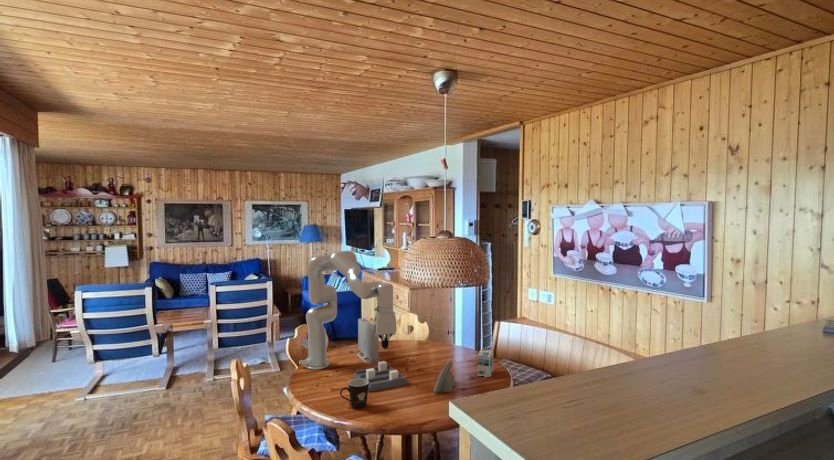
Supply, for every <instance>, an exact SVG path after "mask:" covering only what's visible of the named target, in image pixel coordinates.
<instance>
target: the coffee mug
mask: <svg viewBox="0 0 834 460" xmlns="http://www.w3.org/2000/svg"><path fill="white" fill-rule="evenodd" d="M368 386H369V381H368V380H366V379H355V378H354V379H351V380H349V381H348V387H344V388H341V389H340V391H339V396H340V397H341V398H343V399H344V400H346V401H349V402H350V407H351V408H352V409H353V410H362V409H365V408H366V407H367V403H368V394H369V392H368ZM344 390H347V391H348V392H349V398H347V397H344V395H343V394H342V392H343V391H344Z"/></svg>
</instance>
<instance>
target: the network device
mask: <svg viewBox="0 0 834 460" xmlns="http://www.w3.org/2000/svg"><path fill="white" fill-rule="evenodd" d="M357 323H358V324H357V342H358V343H357V347H358V348H357V349H358V350H359V351H360V352H358V353H357V356H358V357H359V358H360V360H361V361H363V362H364V363H365V364H373V363H374V364H375V363H378V362H381V359H380V353H379V351H380V350H379V347H380V346H379V345H380V344H379V341H380V338H379V337H375V336H374V333H375V332H374V322H373V323H372V322H371V321H370V320H368V319H366V318H358V319H357ZM361 355H363V356H361ZM367 360H369V361H367Z"/></svg>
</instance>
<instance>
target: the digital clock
mask: <svg viewBox="0 0 834 460" xmlns="http://www.w3.org/2000/svg"><path fill="white" fill-rule="evenodd" d="M452 366H453V361H451V360H448V361H447V362H446V363H445V364H444V366H443V367H442V369H441V370H440V372H439V375H438V378H437V380H436V382H435V384H434V385H435V386H434V387H433V388H434V389H433V392H434V393H435V394H439V392H442V391H443V393H451V391H452V389H453V388H454V387H455V386H454V385H455V376H454V375H453V374H452V372H451V369H452Z"/></svg>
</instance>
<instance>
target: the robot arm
mask: <svg viewBox="0 0 834 460" xmlns="http://www.w3.org/2000/svg"><path fill="white" fill-rule="evenodd" d="M357 260H358V258H357V255H356V253H354V251H351V250H341V251H335V252H334V253H333V254H332V253H331V254H323V255H315V256H313V257H311V258H310V259H309V261H308V262H307V265H306V268H307V270H306V271H307V275H308V276H307V277H308V302H309V303H310V304H311V305H314V306H315V305H316V306H315V307H311V308H309V310H307V312H306V314H305V320H306V324H307V325H306V326H307V353H308V355H307V356H306V358H305V359H300V360H299V361H298V363H299V365H303V366H305V368H306V369H308V370H313V371H315V370H322V369H325V368H328V367H329V366H330V361H329V360H328V359H327V330H326V327H325V326H324V324H327V323H331V322H333V321H334V320H335V319H336V318H337V315H338V295H337V294H338V293H337V290H336V288H335V287H334V285H331V284H326V278H325V275H324V273H323V272H329V271H338V272H339V273H340V274H342V275H343V276H344V277H345V278H346V279H347V284H348V287H349V289H350V291H352V292H353V293H354V294H355V295H356V297H358V298H360V299H362V300H368V299H373V298H376V302H377V303H376V307H374V312H376V313H375V314H374V322H373V324H374V332H375V333H374V336H375V337H379V340H381V341H380V342H381V348H382V349H384V350H386V349H387V350H388V347H389V341H390V338H391V337H393V336H395V335H396V334H397V327H398V326H397V318H396V313H395V311H394V285H393V284H392V283H388V282H382V281H379V280H375V281H369V282H368V281H367V282H363V281H362V280H361V279H360V278H359V275H360V273H361V266H360V265H359V264H357ZM322 304H323V305H322ZM317 305H319V306H317Z"/></svg>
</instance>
